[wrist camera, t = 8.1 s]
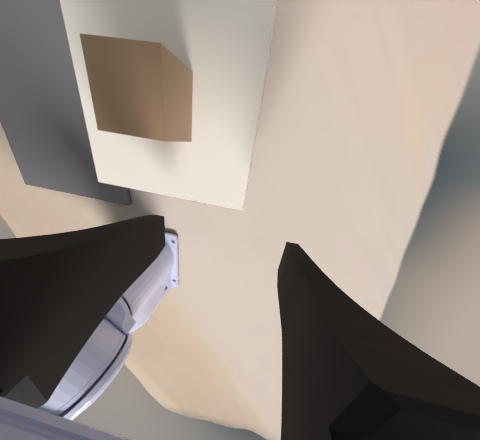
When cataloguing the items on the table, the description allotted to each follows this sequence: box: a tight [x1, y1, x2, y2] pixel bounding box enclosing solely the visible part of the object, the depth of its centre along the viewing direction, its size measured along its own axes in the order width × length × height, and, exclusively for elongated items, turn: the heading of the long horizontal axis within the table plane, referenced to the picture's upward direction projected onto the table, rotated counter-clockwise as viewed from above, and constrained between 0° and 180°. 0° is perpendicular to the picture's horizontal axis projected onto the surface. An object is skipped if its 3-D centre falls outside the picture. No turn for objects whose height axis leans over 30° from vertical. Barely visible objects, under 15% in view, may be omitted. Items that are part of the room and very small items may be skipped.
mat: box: [0, 0, 131, 205], centre depth 19 cm, size 18×15×1 cm
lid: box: [60, 0, 279, 211], centre depth 11 cm, size 13×13×4 cm
